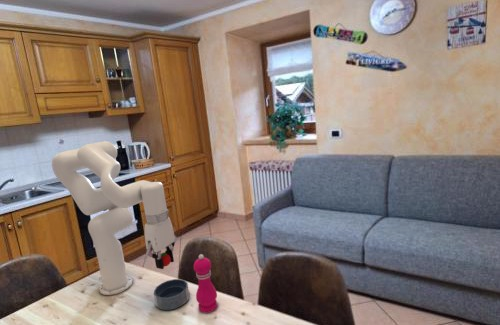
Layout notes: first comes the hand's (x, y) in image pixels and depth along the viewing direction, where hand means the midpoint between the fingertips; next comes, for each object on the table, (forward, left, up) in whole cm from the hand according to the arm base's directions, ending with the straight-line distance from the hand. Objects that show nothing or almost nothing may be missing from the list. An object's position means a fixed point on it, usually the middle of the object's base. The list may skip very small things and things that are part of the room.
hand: (165, 264), depth 114 cm
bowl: (0, 0, -15) cm, 15 cm away
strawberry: (0, 0, -1) cm, 1 cm away
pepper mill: (+15, +2, -15) cm, 22 cm away
